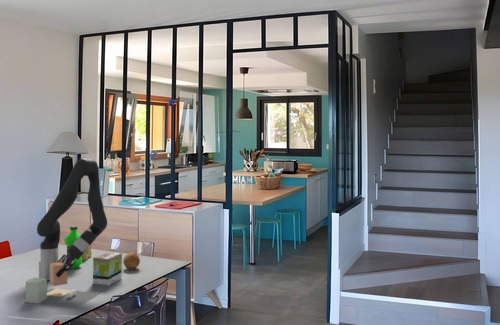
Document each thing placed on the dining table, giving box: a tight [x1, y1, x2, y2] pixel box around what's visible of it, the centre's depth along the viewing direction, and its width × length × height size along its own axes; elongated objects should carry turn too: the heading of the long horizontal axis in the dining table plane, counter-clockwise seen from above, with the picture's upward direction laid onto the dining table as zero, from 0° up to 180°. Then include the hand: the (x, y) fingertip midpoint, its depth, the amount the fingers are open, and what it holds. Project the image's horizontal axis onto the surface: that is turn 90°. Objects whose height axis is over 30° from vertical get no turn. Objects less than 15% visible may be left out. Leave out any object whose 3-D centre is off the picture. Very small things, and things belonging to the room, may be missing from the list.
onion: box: [122, 252, 141, 270], centre depth 297 cm, size 10×10×10 cm
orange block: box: [49, 262, 68, 287], centre depth 248 cm, size 7×7×10 cm
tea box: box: [92, 251, 123, 286], centre depth 271 cm, size 15×10×15 cm
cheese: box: [81, 244, 92, 261], centre depth 321 cm, size 10×11×10 cm
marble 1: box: [66, 292, 73, 298], centre depth 241 cm, size 3×3×3 cm
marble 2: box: [70, 289, 77, 296], centre depth 244 cm, size 3×3×3 cm
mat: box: [24, 288, 102, 309], centre depth 241 cm, size 28×22×1 cm
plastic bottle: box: [64, 225, 83, 270], centre depth 299 cm, size 10×10×25 cm
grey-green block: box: [25, 277, 48, 304], centre depth 237 cm, size 7×7×10 cm
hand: (55, 274), depth 247 cm, fingers closed on orange block, 6 cm apart
